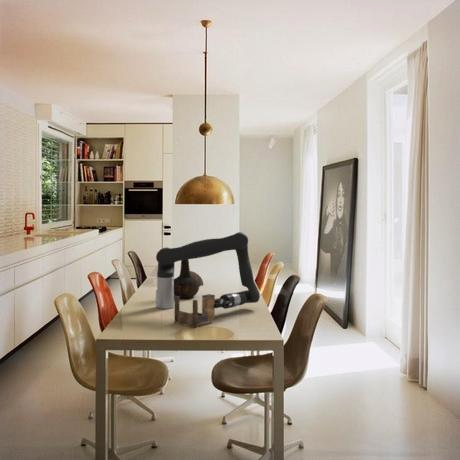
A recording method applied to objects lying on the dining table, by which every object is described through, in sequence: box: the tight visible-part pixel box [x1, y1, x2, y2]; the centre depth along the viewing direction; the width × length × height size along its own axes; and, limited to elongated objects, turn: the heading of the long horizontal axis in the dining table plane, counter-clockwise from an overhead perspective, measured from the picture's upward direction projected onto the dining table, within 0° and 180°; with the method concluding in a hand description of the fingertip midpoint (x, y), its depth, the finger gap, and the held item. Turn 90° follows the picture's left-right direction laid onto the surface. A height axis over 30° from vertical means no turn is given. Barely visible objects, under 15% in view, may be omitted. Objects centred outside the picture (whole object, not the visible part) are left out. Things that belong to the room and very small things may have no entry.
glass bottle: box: [174, 259, 200, 299], centre depth 331 cm, size 18×18×28 cm
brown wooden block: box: [201, 293, 216, 321], centre depth 275 cm, size 4×5×12 cm
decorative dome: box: [190, 270, 204, 288], centre depth 376 cm, size 19×20×10 cm
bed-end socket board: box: [173, 295, 213, 329], centre depth 264 cm, size 15×12×13 cm
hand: (208, 304), depth 275 cm, fingers open, 8 cm apart
